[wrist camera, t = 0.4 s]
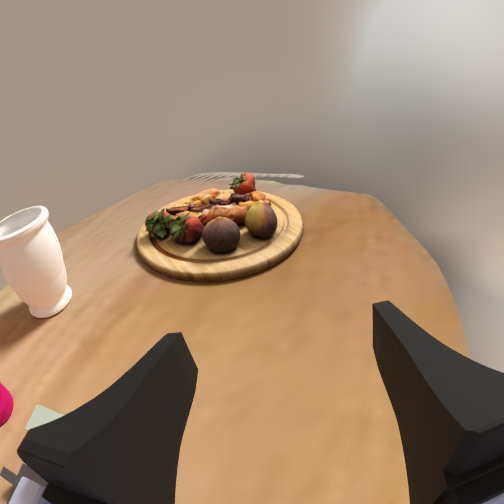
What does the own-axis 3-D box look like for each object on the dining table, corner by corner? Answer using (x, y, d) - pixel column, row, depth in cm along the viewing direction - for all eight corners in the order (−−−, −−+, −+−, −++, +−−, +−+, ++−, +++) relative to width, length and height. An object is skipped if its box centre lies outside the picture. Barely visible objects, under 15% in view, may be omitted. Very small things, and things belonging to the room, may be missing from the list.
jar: (25, 332, 37) (-19, 249, 29) (25, 295, 44) (-7, 220, 36) (81, 309, 42) (46, 221, 33) (75, 275, 49) (48, 198, 41)
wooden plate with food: (217, 188, 79) (213, 158, 74) (332, 219, 62) (334, 181, 57) (110, 246, 59) (98, 209, 54) (225, 315, 42) (217, 265, 37)
